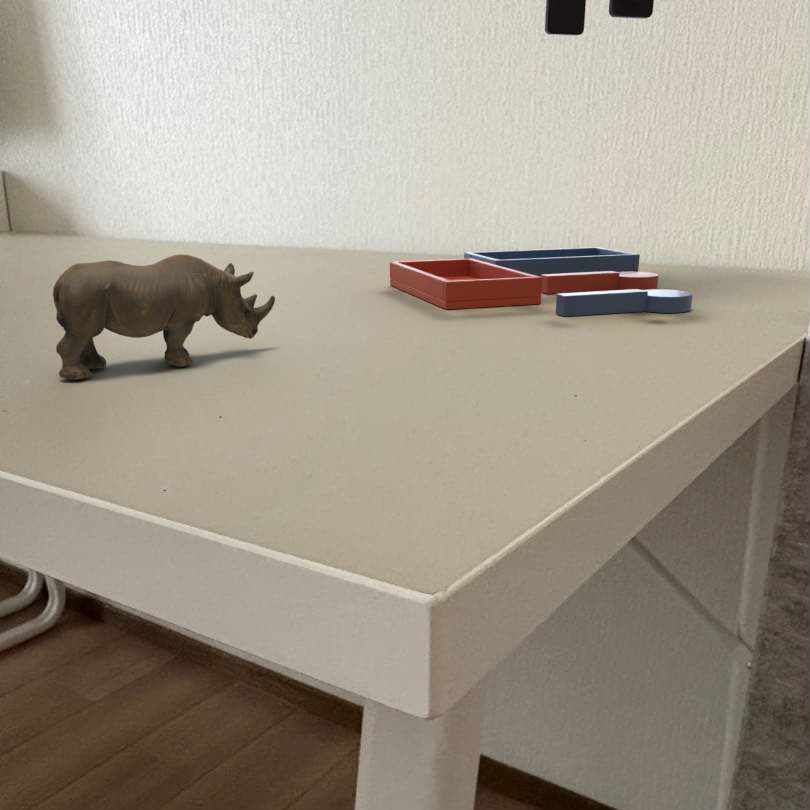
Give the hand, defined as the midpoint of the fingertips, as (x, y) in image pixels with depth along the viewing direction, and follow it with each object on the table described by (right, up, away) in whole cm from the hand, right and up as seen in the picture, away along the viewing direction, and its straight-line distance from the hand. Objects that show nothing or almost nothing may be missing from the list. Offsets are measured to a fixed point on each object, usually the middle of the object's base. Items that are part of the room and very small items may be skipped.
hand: (595, 26), depth 66 cm
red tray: (-9, -17, +11) cm, 22 cm away
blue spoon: (+2, -21, +2) cm, 21 cm away
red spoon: (+3, -16, +12) cm, 21 cm away
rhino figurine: (-28, -28, -14) cm, 42 cm away
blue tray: (0, -12, +22) cm, 25 cm away
